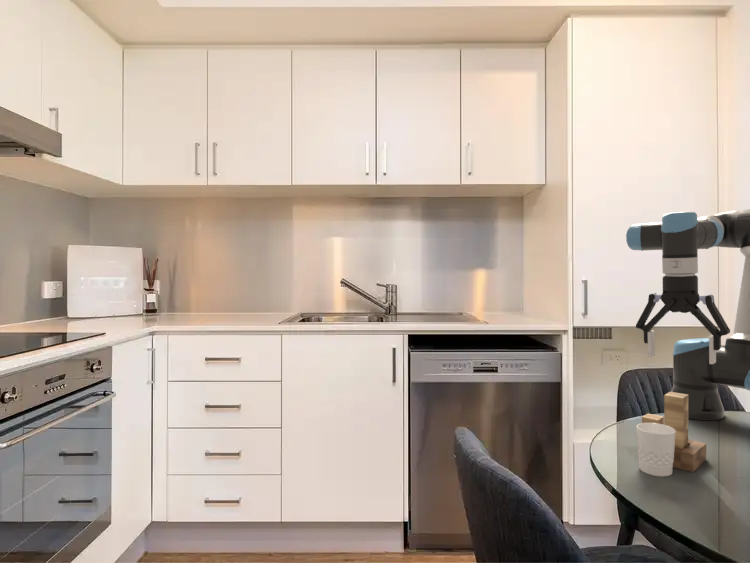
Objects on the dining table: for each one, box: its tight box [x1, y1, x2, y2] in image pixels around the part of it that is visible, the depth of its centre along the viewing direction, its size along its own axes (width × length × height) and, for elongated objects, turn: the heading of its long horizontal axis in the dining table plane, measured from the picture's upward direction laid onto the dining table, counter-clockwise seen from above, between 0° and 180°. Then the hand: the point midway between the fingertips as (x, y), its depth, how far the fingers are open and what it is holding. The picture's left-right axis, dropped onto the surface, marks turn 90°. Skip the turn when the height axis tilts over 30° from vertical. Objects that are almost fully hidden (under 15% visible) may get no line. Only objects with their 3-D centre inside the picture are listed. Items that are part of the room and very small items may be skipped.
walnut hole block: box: [673, 438, 707, 473], centre depth 122 cm, size 10×10×4 cm
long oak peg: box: [663, 391, 689, 449], centre depth 122 cm, size 4×4×16 cm
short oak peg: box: [641, 413, 664, 425], centre depth 134 cm, size 4×4×7 cm
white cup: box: [636, 422, 676, 477], centre depth 117 cm, size 8×8×10 cm
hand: (680, 359), depth 126 cm, fingers open, 13 cm apart
